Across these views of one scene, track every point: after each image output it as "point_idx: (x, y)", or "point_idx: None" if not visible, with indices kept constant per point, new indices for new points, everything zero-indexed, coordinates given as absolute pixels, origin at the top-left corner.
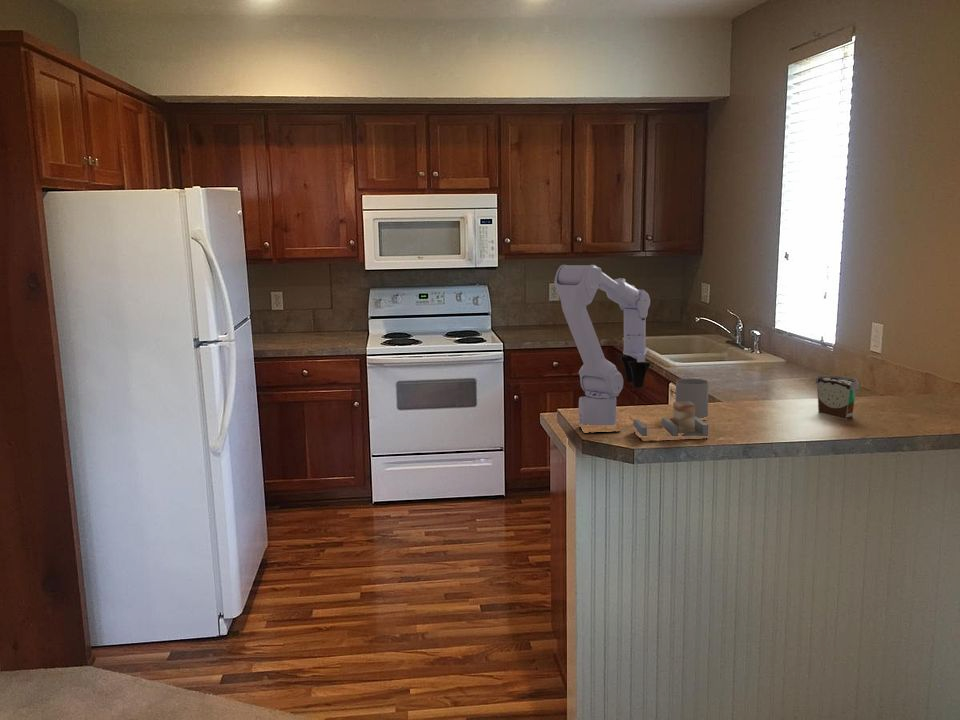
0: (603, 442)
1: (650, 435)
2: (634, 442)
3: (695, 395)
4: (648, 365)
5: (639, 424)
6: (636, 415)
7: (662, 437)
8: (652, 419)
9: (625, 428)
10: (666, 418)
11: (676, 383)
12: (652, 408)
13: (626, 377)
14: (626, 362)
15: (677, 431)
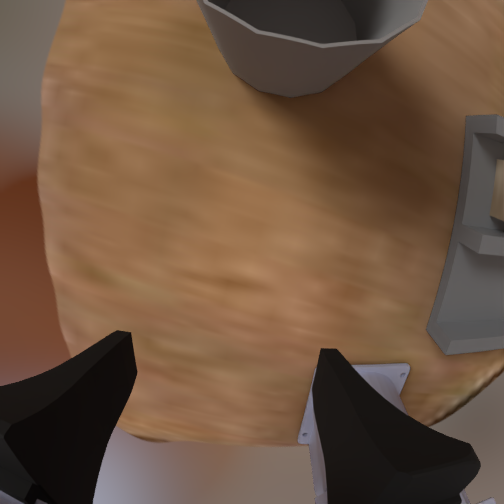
0: (455, 403)
1: None
2: None
3: (401, 8)
4: (462, 449)
5: (498, 347)
6: (181, 245)
7: None
8: (270, 202)
9: (369, 339)
10: (489, 241)
11: (295, 46)
12: (77, 143)
13: (122, 398)
14: (85, 481)
15: None
